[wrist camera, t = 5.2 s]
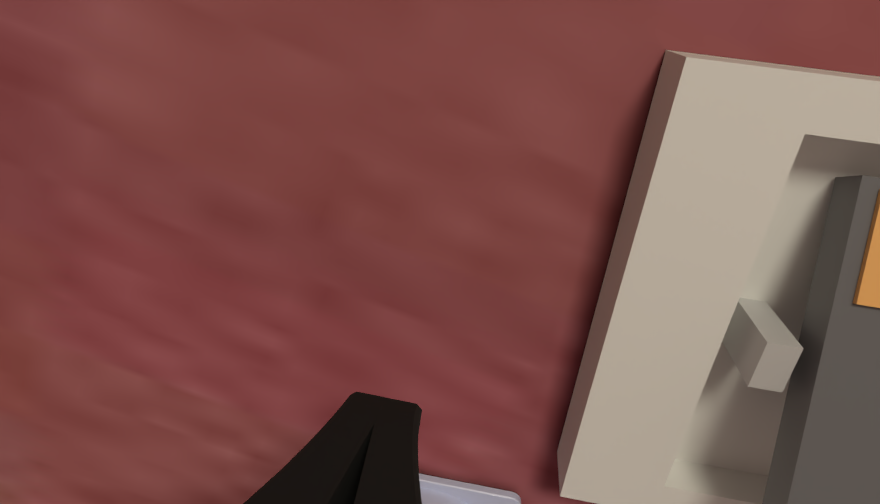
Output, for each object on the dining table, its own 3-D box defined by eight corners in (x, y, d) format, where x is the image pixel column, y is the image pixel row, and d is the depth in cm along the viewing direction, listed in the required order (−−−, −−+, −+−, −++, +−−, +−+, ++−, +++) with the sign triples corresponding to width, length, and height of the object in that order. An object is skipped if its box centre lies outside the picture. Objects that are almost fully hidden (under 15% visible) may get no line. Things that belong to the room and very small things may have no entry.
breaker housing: (961, 528, 22) (1035, 617, 18) (557, 451, 23) (561, 523, 20) (1268, 125, 15) (1470, 159, 12) (665, 50, 16) (699, 61, 13)
